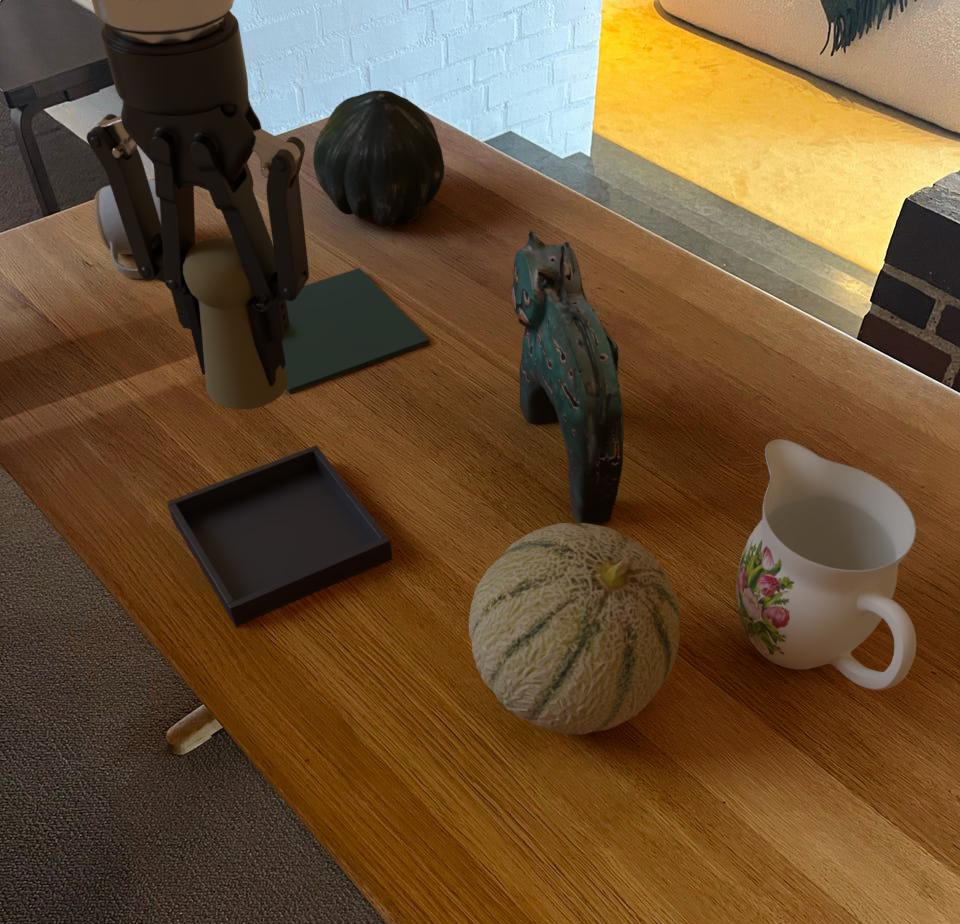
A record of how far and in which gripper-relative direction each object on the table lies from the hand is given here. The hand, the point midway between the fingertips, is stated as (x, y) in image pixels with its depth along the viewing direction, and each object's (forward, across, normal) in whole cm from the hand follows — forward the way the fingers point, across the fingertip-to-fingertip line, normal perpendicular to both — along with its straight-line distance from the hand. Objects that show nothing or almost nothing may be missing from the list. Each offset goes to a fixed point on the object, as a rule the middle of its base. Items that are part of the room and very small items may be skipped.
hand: (244, 368), depth 73 cm
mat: (+17, +6, -29) cm, 34 cm away
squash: (+17, +8, -55) cm, 58 cm away
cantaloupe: (+17, -28, +11) cm, 34 cm away
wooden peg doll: (+2, 0, 0) cm, 2 cm away
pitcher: (+16, -44, +2) cm, 47 cm away
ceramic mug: (+17, +31, -38) cm, 52 cm away
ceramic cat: (+17, -22, -15) cm, 32 cm away
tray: (+17, -1, +1) cm, 17 cm away
